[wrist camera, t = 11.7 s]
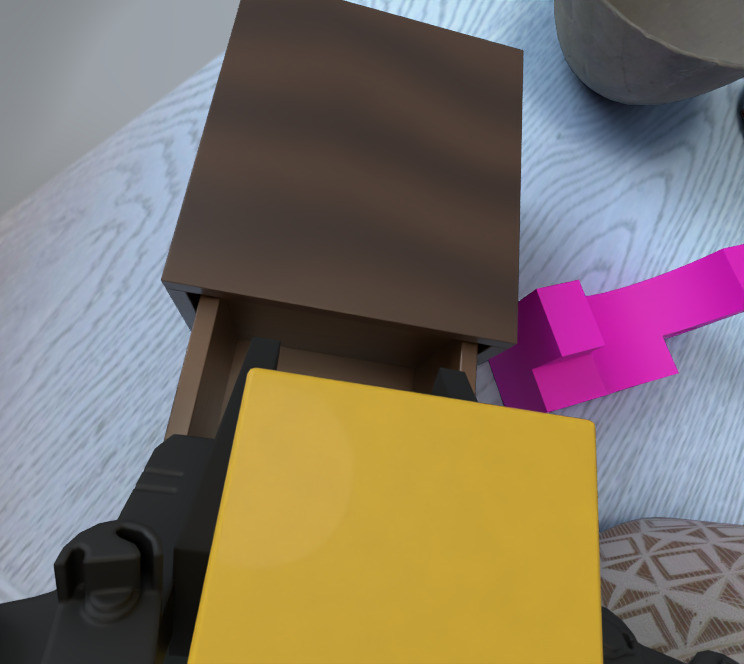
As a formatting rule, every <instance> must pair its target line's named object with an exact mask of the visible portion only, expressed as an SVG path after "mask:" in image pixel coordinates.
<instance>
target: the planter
mask: <svg viewBox="0 0 744 664" xmlns="http://www.w3.org/2000/svg"><path fill="white" fill-rule="evenodd" d="M599 551H600V581H601V606H603V607H605V608H608V609H609V610H610V611H611V612H613V613H614V614H615V615H616V616H618V617H619V618H620V619H621V620H622V621H623V622H624V623H625V624H626V625H627V627H628V628H629V629H630V630H631V631H632V633H633V634H634V635H635V637H636V639H637V641H638V643H640V644H642V645H644V646H646V647H649V648H651V649H653V650H656V651H658V652H660V653H663V654H665V655H668V656H670V657H672V658H675V659H677V660H680V661H682V662H684V663H688V662H689V661H690V660H691V659H692V658H693V657H694V655H695V654H696V653H697V652H700V651H705V650H711V651H714V652H718V653H722V654H724V655H726V656H728V657H729V658H731V659H733V660H735V661H736V662H738V663H740V664H744V525H736V524H726V523H717V522H707V521H697V520H688V519H678V518H665V517H654V518H643V519H637V520H633V521H629V522H625V523H622V524H619V525H617V526H614V527H612V528H610V529H608V530H606V531H604V532H602V533H600V534H599Z"/></svg>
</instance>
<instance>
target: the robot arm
mask: <svg viewBox="0 0 744 664" xmlns="http://www.w3.org/2000/svg"><path fill="white" fill-rule="evenodd" d="M280 345H281V341H278V340H272V339H266V338H260V337H254V336H253V337H252V340H251V343H250V345H249V348H248V351H247V353H246V356H245V359H244V362H243V364H242V367H241V370H240V372H239V375H238V378H237V380H236V383H235V386H234V388H233V391H232V394H231V396H230V399H229V402H228V404H227V407H226V410H225V412H224V415H223V418H222V420H221V423H220V426H219V428H218V431H217V434H216V436H215V439H211V438H204V437H196V436H189V435H181V434H173V435H171V436H170V437H169V438H168V439H166V440H165V441H164V442H163V443H161V444H160V445H159V446H158V447H156V448H155V450H154V451H153V453H152V455H151V457H150V459H149V461H148V463H147V465H146V467H145V469H144V472H142V474H141V476H140V478H139V480H138V482H137V484H136V487H135V489H133V491H132V493H131V495H130V497H129V499H128V501H127V502H126V504H125V506H124V508H123V510H122V512H121V514H120V516H119V518H118V519H117V520H114V521H109V522H104V523H99V524H97V525H95V526H93V527H91V528H89V529H87V530H85V531H83V532H81V533H79V534H78V535H77V536H76V537H75V538H73V539H72V540H71V541H70V542H69V543H68V544H67V545H65V546H64V547H63V549H62V551H61V552H60V554H59V556H58V558H57V559H56V561H55V563H54V571H55V579H56V587H57V589H56V590H54V591H52V592H49V593H46V594H42V595H39V596H36V597H32V598H27V599H22V600H17V601H12V602H7V603H2V604H0V664H163V662H164V659H165V656H166V653H167V649H168V646H169V656H182V657H189V652H190V647H191V643H192V638H193V633H194V628H195V623H196V618H197V614H198V609H199V604H200V599H201V594H202V590H203V585H204V580H205V575H206V570H207V566H208V561H209V556H210V551H211V546H212V542H213V537H214V532H215V527H216V522H217V517H218V513H219V508H220V503H221V498H222V493H223V489H224V484H225V479H226V474H227V469H228V465H229V460H230V455H231V450H232V445H233V441H234V436H235V431H236V426H237V421H238V416H239V412H240V407H241V402H242V397H243V392H244V388H245V383H246V378H247V374H248V372H249V371H250V369H253V368H262V369H269V370H275V371H277V365H278V359H279V352H280ZM431 395H434V396H440V397H447V398H453V399H459V400H466V401H472V402H477V399H476V397H475V395H474V392H473V390H472V387H471V385H470V383H469V380H468V378H467V375H466V373H465V372H464V371H458V370H452V369H446V368H439V371H438V374H437V377H436V380H435V383H434V386H433V389H432V392H431ZM601 612H602V643H603V664H740V663H738V662H736V661H735V660H733V659H731V658H729V657H728V656H726V655H724V654H722V653H718V652H714V651H711V650H705V651H700V652H697V653H696V654H695V655H694V657H693V658H692V659H691V660H690V661H689V662H688V663H684V662H682V661H680V660H677V659H675V658H672V657H670V656H668V655H665V654H663V653H660V652H658V651H656V650H653V649H651V648H649V647H646V646H644V645H642V644H640V643H638V641H637V639H636V637H635V635H634V634H633V633H632V631H631V630H630V629H629V628H628V627H627V625H626V624H625V623H624V622H623V621H622V620H621V619H620V618H619V617H618V616H616V615H615V614H614V613H613V612H611V611H610V610H609V609H608V608H605V607H603V606H601Z"/></svg>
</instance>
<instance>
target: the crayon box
mask: <svg viewBox="0 0 744 664" xmlns="http://www.w3.org/2000/svg"><path fill="white" fill-rule="evenodd" d="M187 664H603V643H602V612H601V581H600V551H599V520H598V490H597V459H596V429H595V424H594V423H593V422H591V421H589V420H586V419H580V418H574V417H567V416H561V415H555V414H548V413H542V412H536V411H529V410H523V409H517V408H510V407H504V406H498V405H491V404H485V403H478V402H472V401H466V400H459V399H453V398H447V397H440V396H434V395H428V394H421V393H415V392H409V391H402V390H396V389H390V388H383V387H377V386H370V385H364V384H358V383H351V382H345V381H339V380H332V379H326V378H320V377H313V376H307V375H301V374H294V373H288V372H282V371H275V370H269V369H262V368H253V369H250V371H249V372H248V374H247V378H246V383H245V388H244V392H243V397H242V402H241V407H240V412H239V416H238V421H237V426H236V431H235V436H234V441H233V445H232V450H231V455H230V460H229V465H228V469H227V474H226V479H225V484H224V489H223V493H222V498H221V503H220V508H219V513H218V517H217V522H216V527H215V532H214V537H213V542H212V546H211V551H210V556H209V561H208V566H207V570H206V575H205V580H204V585H203V590H202V594H201V599H200V604H199V609H198V614H197V618H196V623H195V628H194V633H193V638H192V643H191V647H190V652H189V657H188V662H187Z"/></svg>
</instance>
